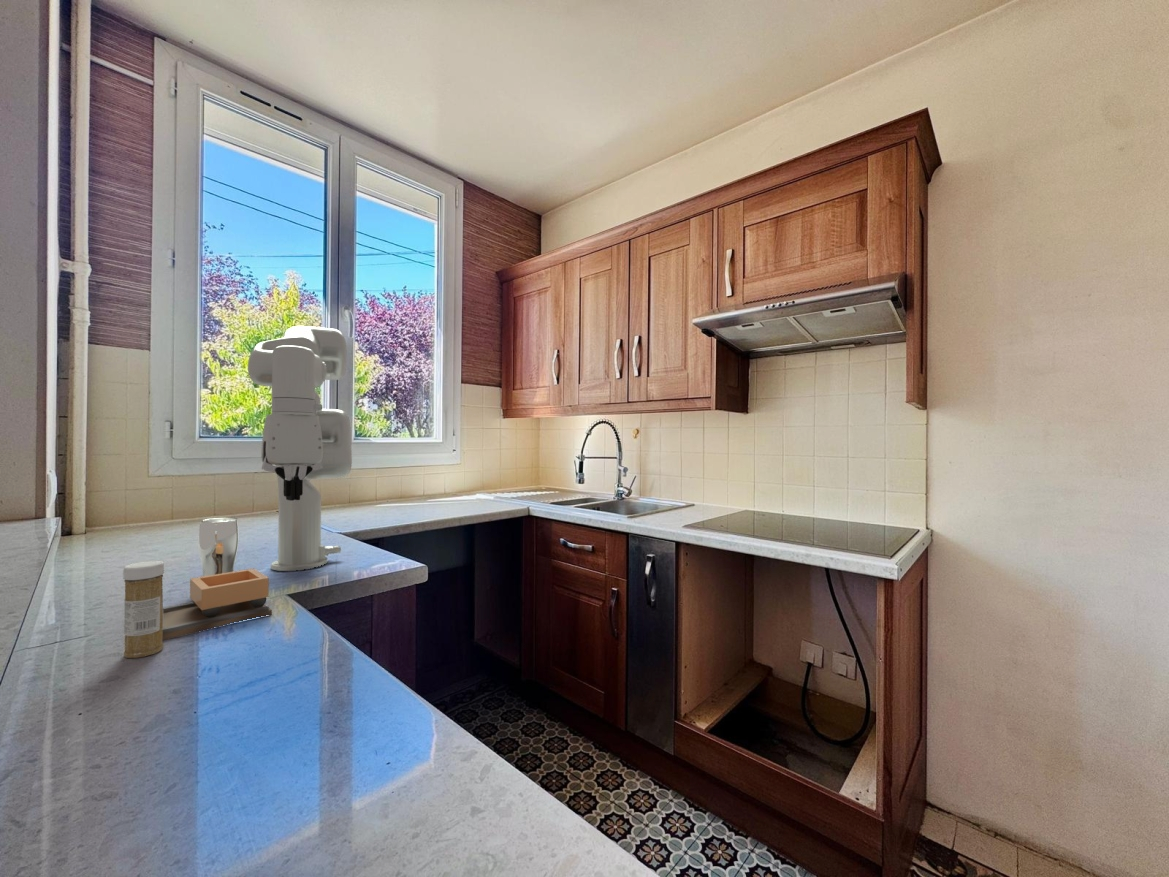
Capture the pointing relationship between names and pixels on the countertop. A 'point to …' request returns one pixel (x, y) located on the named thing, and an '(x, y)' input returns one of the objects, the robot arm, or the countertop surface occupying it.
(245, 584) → the cart
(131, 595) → the sprinkles bottle
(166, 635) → the track board
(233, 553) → the beer glass
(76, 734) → the countertop surface
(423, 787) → the countertop surface
